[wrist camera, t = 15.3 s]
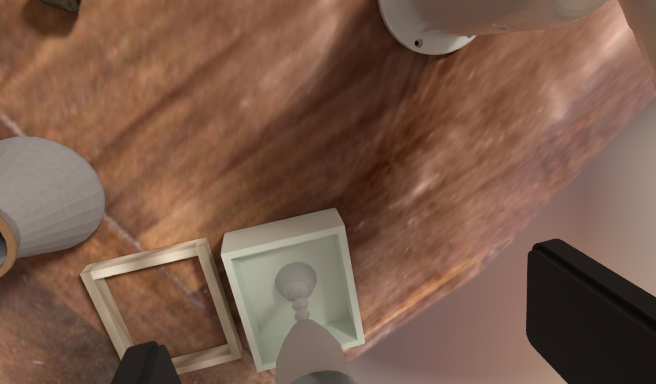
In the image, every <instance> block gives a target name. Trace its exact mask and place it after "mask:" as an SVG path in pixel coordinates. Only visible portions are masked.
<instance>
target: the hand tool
mask: <svg viewBox="0 0 656 384" xmlns="http://www.w3.org/2000/svg"><path fill="white" fill-rule="evenodd" d="M40 1H42V2H44V3H45V4H47V5H50V6H53V7H55V8H58V9H60V10H64V11H66V12H71V13H78V12H79V6H78V4H77V0H40Z"/></svg>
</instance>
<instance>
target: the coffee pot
mask: <svg viewBox="0 0 656 384" xmlns="http://www.w3.org/2000/svg"><path fill="white" fill-rule="evenodd" d="M104 208H105V195H104V188H103V186H102V183H101V181H100V179H99V176H98V174H97V172H96V171H95V170H94V169H93V167H92V166H91V165H90V164H89V162H88V161H87V160H86V159H84V158H83V157H82V156H81V155H79V154H78V153H77V152H76V151H74V150H72V149H70V148H68V147H66V146H64V145H62V144H60V143H58V142H56V141H52V140H48V139H44V138H40V137H20V136H17V137H13V138H8V139H3V140H0V277H1V276H3V275H5V274H6V273H7V272H8V271H9V270H10V269H11V268H12V266H13V264H14V262H15V260H16V258H21V257H27V256H32V255H38V254H44V253H49V252H55V251H59V250H63V249H67V248H71V247H73V246H75V245H77V244H79V243H80V242H82V241H84V240H86V239H87V238H88V237H89V236H90V235H91V234H92V233H93V232H94V231H95V230H96V229H97V227H98V225H99V223H100V222H101V220H102V218H103V214H104Z"/></svg>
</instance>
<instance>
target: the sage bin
mask: <svg viewBox="0 0 656 384" xmlns="http://www.w3.org/2000/svg"><path fill="white" fill-rule="evenodd" d="M221 257H222V260H223V263H224V267H225V270H226V273H227V276H228V279H229V283H230V286H231V289H232V292H233V295H234V298H235V302H236V305H237V308H238V311H239V314H240V318H241V321H242V324H243V327H244V330H245V334H246V337H247V340H248V343H249V346H250V349H251V353H252V356H253V359H254V362H255V365H256V369H257V372H261V371H265V370H269V369H272V368H276V360H277V357H278V354H279V352H280V349H281V346H282V344H283V342H284V339H285V338H286V336H287V335H288V333H289V331H290V330H291V328H292V327H293V325H294V324H295V323H297V322H298V321H296V320H295V318H294V315H295V313H296V312H297V311H295V310H294V309H293V308H292V304H293V302H290V301H288V300H286V299H285V298H284V297H283V296H282V295H281V294H280V293H279V292H278V291H277V288H276V286H275V278H276V275H277V273H278V272H279V271H280V269H281V268H282V267H284V266H285V265H287V264H290V263H293V262H302V263H306V264H308V265H309V266H311V267H312V268H313V269H314V271H315V273H316V276H317V283H316V285H315V288H314V289H313V291H312V294H311V295H310V296H309V298H307V299H306V300H307V301H308V307H307V308H306V310H308V311H309V313H310V316H309V318H308V319H311V320H313V321H315V322H317V323H318V324H320V325H321V326H323V327H324V328H326V329H327V330H328V331H329V332H330V333H331V334H332V335H333V336H334V337H335V339H336V340H337V341H338V342H339V343H340V344H341V347H342V350H343V349H347V348H350V347H354V346H358V345H361V344H365V340H364V334H363V329H362V323H361V317H360V311H359V306H358V300H357V294H356V288H355V283H354V277H353V271H352V265H351V260H350V254H349V248H348V242H347V237H346V231H345V225H344V223H343V221H342V219H341V217H340V215H339V213H338V211H337V210H336V208H331V209H327V210H322V211H318V212H314V213H309V214H305V215H301V216H296V217H292V218H288V219H283V220H279V221H275V222H270V223H266V224H261V225H257V226H253V227H248V228H244V229H240V230H235V231H231V232H227V233H224V238H223V244H222V249H221Z"/></svg>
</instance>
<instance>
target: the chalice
mask: <svg viewBox="0 0 656 384" xmlns="http://www.w3.org/2000/svg"><path fill="white" fill-rule="evenodd" d="M316 283H317V276H316V273H315V271H314V269H313V268H312V267H311V266H309V265H308V264H306V263H302V262H293V263H290V264H287V265H285V266H284V267H282V268H281V269H280V271H279V272H278V273H277V275H276V278H275V286H276V288H277V291H278V292H279V293H280V294H281V295H282V296H283V297H284V298H285V299H286V300H288V301H290V302H293V304H292V308H293V309H294V310H295V311H297V312H296V313H295V315H294V318H295V320H296V321H298V322H297V323H295V324H294V325H293V327H292V328H291V330H290V331H289V333H288V335H287V336H286V338H285V339H284V342H283V344H282V346H281V349H280V352H279V354H278V357H277V360H276V382H277V384H358V383H357V382H356V381H355V380H354V378H353V377H352V376H350V375H349V371H348V368H347V364H346V361H345V357H344V354H343V350H342V347H341V344H340V343H339V342H338V341H337V340H336V339H335V337H334V336H333V335H332V334H331V333H330V332H329V331H328V330H327V329H326V328H324V327H323V326H321V325H320V324H318V323H317V322H315V321H313V320H311V319H308V318H309V316H310V313H309V311H308V310H306V308H307V307H308V301H307V300H306V299H307V298H309V296H310V295H311V294H312V291H313V289H314V288H315V285H316Z"/></svg>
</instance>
